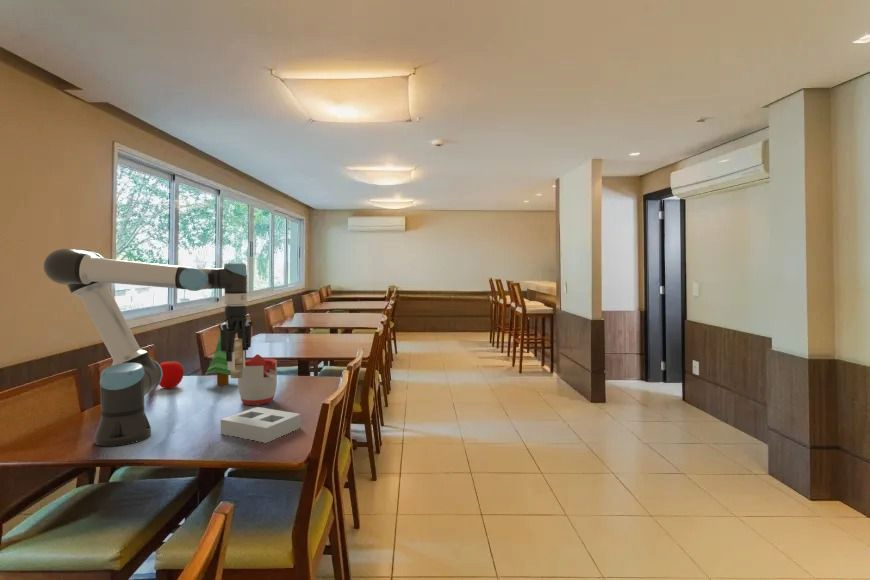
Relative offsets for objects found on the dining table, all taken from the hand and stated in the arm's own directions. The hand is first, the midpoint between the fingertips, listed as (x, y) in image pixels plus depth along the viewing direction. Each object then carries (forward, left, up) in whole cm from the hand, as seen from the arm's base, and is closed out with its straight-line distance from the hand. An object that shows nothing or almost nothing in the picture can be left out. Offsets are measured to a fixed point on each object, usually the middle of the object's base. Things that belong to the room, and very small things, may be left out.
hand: (236, 368), depth 169 cm
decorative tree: (+35, +47, -19) cm, 62 cm away
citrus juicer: (+20, +9, -19) cm, 29 cm away
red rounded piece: (+20, +64, -19) cm, 70 cm away
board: (-6, -18, -19) cm, 26 cm away
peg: (0, 0, -3) cm, 3 cm away
